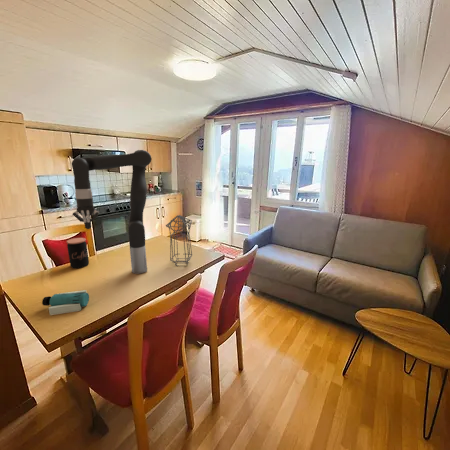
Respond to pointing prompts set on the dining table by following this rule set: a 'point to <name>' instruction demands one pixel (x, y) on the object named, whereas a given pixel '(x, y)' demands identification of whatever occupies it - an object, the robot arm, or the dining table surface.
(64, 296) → the beverage bottle
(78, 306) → the cradle
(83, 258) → the coffee jar
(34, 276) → the dining table surface
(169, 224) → the geometric lantern
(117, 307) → the dining table surface
